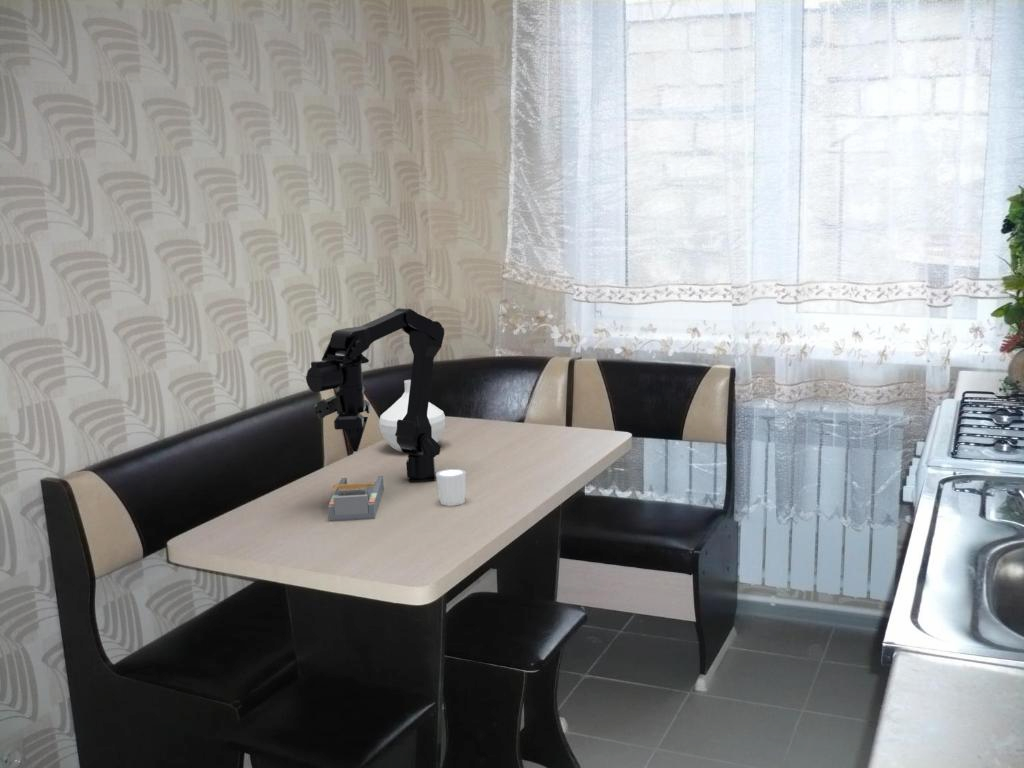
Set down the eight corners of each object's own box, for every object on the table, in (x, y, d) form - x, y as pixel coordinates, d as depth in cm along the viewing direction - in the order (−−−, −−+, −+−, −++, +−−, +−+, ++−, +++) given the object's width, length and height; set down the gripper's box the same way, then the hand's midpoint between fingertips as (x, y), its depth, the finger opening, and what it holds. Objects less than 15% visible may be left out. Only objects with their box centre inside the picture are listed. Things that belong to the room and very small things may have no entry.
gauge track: (384, 488, 256) (382, 467, 255) (374, 518, 233) (372, 495, 232) (342, 490, 256) (340, 470, 255) (329, 520, 233) (327, 498, 232)
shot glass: (472, 498, 245) (470, 469, 243) (461, 507, 238) (459, 477, 237) (444, 496, 247) (442, 467, 246) (433, 505, 241) (431, 476, 239)
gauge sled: (376, 501, 241) (374, 480, 240) (373, 507, 236) (372, 486, 235) (335, 503, 241) (333, 482, 240) (332, 510, 236) (330, 488, 235)
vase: (460, 443, 296) (456, 376, 292) (420, 459, 281) (415, 389, 277) (408, 437, 306) (403, 372, 302) (367, 453, 291) (362, 385, 287)
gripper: (321, 379, 252) (326, 442, 255) (308, 394, 233) (314, 462, 236) (368, 376, 252) (372, 440, 255) (359, 391, 234) (364, 460, 237)
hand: (355, 450), depth 246 cm, fingers closed
